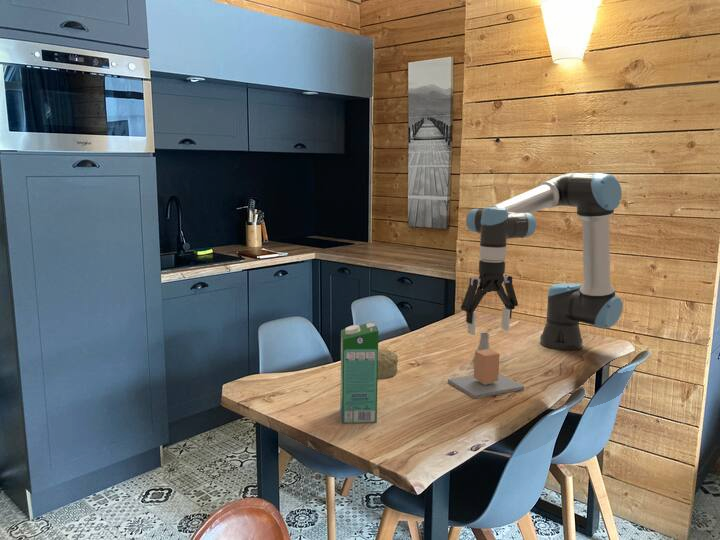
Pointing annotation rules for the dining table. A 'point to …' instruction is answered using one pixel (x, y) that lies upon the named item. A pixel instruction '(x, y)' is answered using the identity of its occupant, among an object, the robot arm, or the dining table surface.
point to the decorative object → (387, 363)
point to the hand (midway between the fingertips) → (488, 331)
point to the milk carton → (359, 373)
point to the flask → (483, 342)
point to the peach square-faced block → (486, 366)
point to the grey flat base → (485, 386)
